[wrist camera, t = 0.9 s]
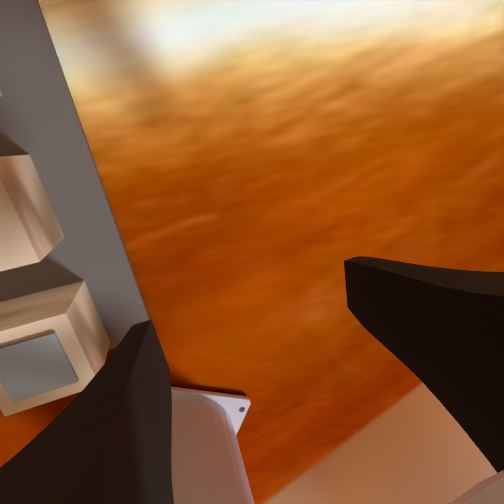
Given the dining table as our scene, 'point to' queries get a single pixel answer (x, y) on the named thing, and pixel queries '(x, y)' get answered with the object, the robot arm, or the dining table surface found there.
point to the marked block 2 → (49, 346)
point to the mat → (60, 176)
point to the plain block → (24, 215)
